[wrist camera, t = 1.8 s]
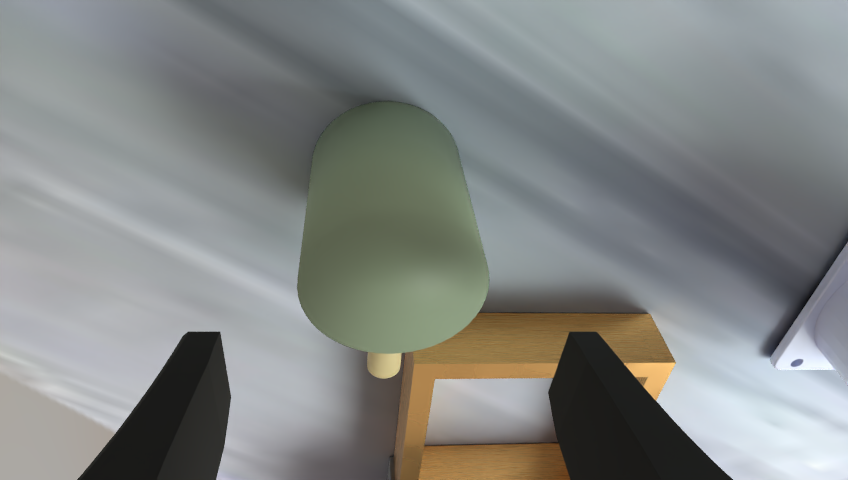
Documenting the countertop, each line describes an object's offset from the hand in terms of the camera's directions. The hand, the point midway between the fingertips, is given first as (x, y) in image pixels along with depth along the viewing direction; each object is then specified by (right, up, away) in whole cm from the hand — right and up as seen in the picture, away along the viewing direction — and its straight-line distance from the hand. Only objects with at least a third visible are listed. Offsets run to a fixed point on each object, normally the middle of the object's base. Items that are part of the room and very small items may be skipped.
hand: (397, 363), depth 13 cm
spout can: (-1, +5, +6) cm, 8 cm away
